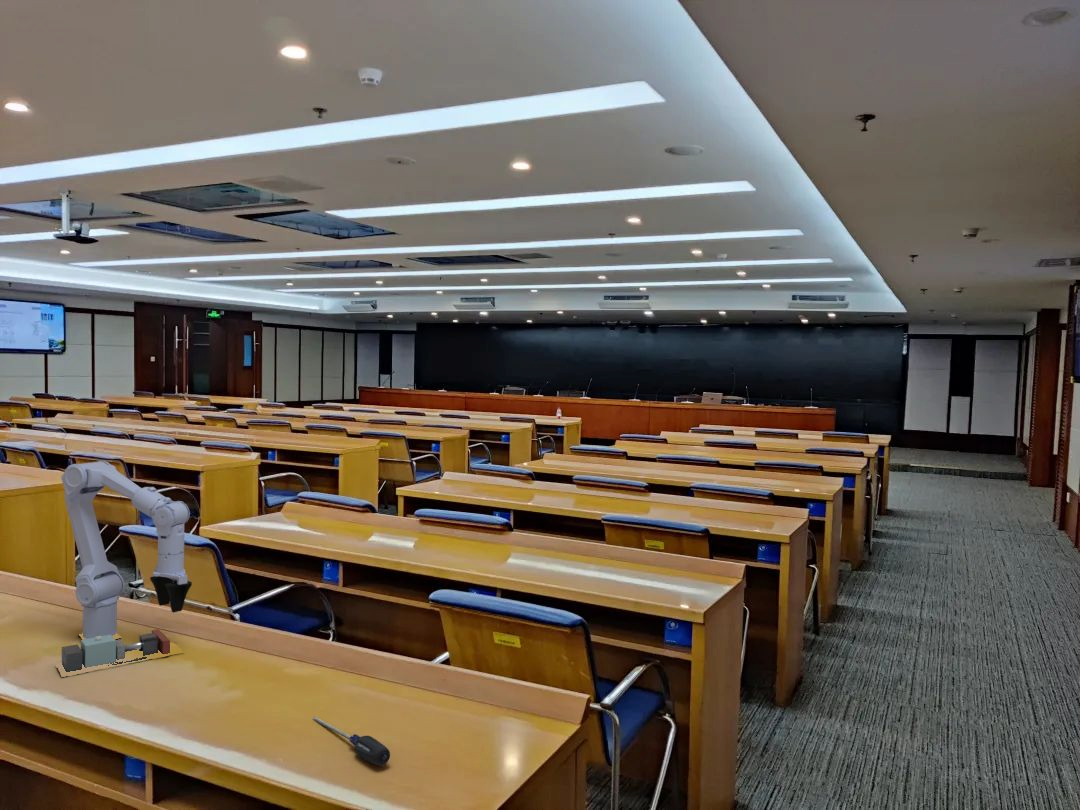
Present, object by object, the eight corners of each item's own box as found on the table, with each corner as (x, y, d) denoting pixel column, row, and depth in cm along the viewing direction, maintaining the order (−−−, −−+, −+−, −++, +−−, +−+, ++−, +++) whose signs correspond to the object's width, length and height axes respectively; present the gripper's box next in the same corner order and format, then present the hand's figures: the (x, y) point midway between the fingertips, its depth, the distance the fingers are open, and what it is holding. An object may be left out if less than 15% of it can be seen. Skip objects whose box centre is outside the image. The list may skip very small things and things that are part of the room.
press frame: (55, 667, 168) (55, 646, 168) (174, 644, 184) (174, 625, 184) (61, 678, 162) (61, 657, 161) (183, 653, 178) (183, 634, 178)
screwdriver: (304, 721, 144) (305, 702, 144) (322, 716, 147) (322, 697, 146) (375, 775, 125) (375, 752, 125) (393, 768, 128) (394, 746, 127)
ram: (110, 650, 176) (110, 637, 175) (158, 641, 182) (158, 629, 182) (119, 663, 168) (119, 649, 168) (169, 653, 175) (169, 640, 175)
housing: (80, 661, 169) (80, 636, 169) (110, 655, 173) (110, 631, 173) (85, 668, 166) (85, 642, 166) (115, 662, 170) (115, 636, 170)
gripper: (142, 550, 184) (141, 604, 184) (165, 560, 174) (165, 618, 174) (171, 545, 189) (171, 599, 189) (196, 555, 179) (195, 611, 179)
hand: (170, 608), depth 182 cm, fingers open, 7 cm apart
